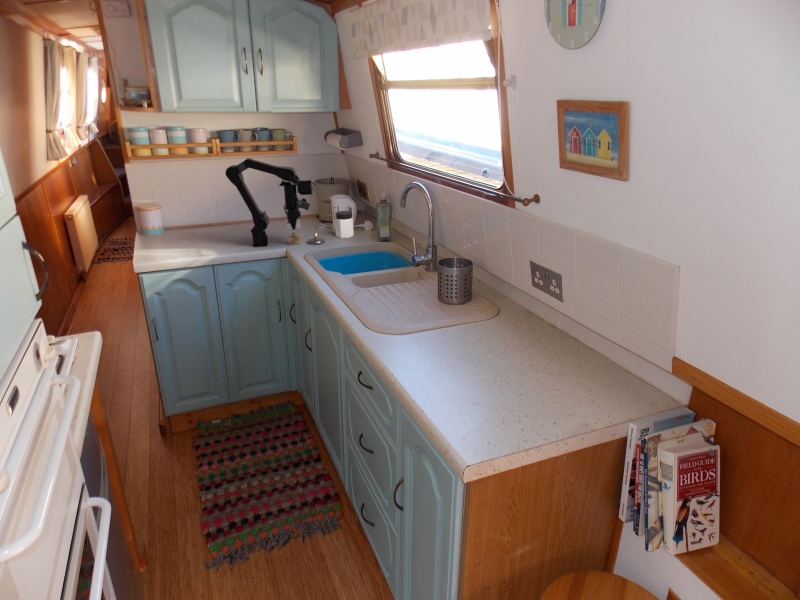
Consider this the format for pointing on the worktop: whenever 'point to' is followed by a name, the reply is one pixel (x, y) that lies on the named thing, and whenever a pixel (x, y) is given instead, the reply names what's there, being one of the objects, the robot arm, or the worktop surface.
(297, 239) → the stand
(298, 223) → the square frame block
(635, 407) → the worktop surface
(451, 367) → the worktop surface
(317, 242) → the hub
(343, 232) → the jar
